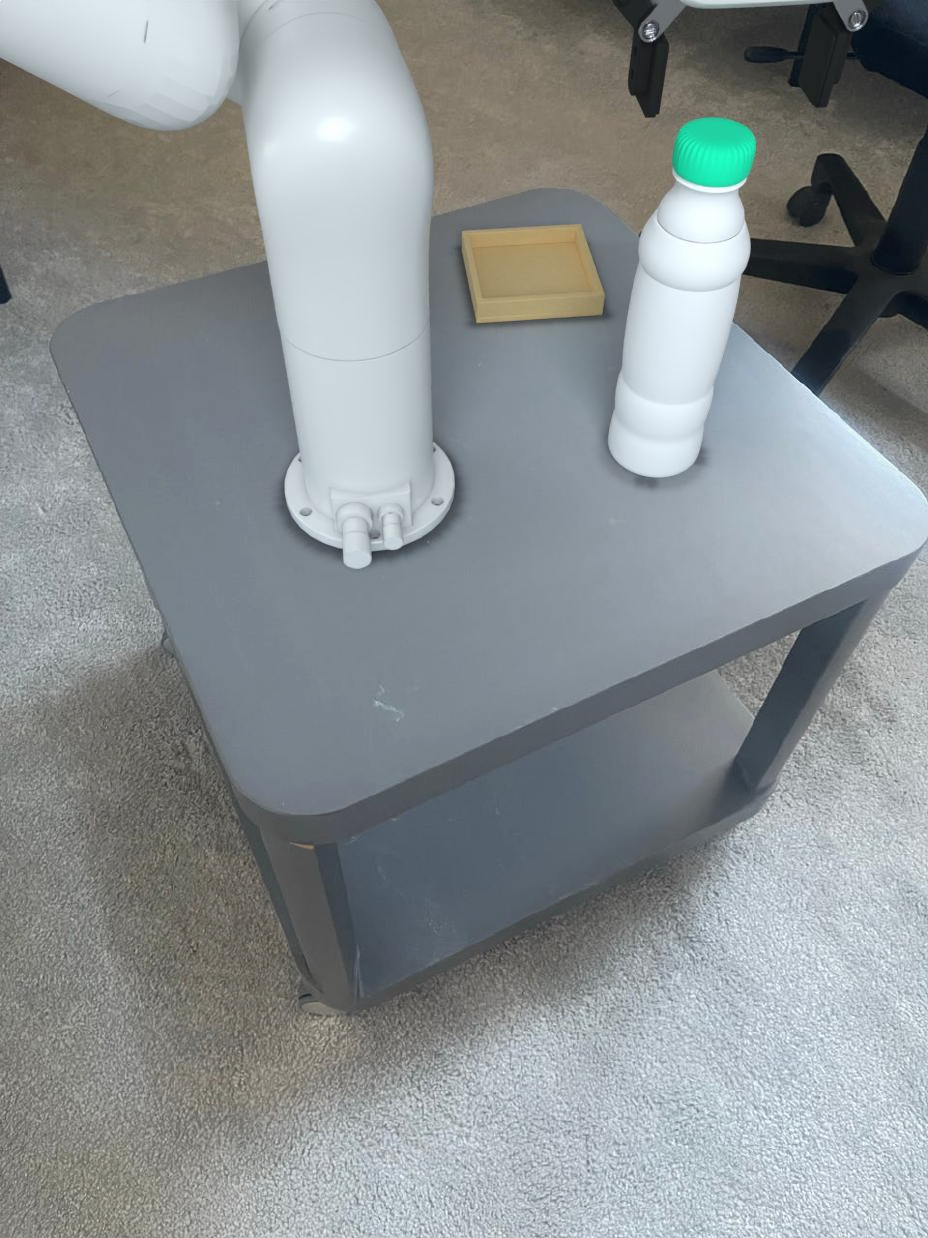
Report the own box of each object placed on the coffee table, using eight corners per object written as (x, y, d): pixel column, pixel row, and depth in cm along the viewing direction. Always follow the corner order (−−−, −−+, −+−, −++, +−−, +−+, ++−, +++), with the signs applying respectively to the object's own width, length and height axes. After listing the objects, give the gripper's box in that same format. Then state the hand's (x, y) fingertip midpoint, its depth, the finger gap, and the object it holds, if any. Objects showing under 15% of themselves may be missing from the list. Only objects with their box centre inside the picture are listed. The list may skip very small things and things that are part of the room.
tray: (602, 315, 89) (605, 294, 87) (476, 323, 88) (476, 302, 86) (579, 243, 96) (581, 223, 94) (461, 250, 95) (461, 230, 93)
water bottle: (597, 471, 77) (646, 150, 57) (616, 412, 81) (668, 94, 61) (689, 490, 76) (772, 170, 56) (704, 430, 80) (786, 111, 60)
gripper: (634, -272, 41) (592, 143, 54) (1041, -285, 42) (900, 125, 56) (597, -315, 45) (567, 79, 59) (966, -325, 46) (853, 63, 60)
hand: (729, 101), depth 57 cm, fingers open, 9 cm apart
